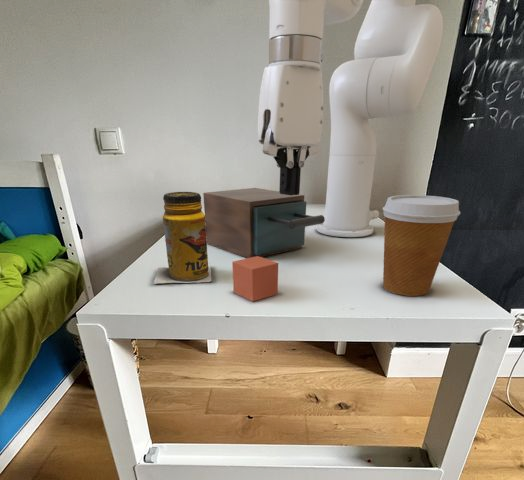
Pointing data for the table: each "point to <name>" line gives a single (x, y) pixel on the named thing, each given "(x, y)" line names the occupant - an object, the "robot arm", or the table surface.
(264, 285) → the block
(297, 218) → the drawer
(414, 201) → the disposable coffee cup
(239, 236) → the cabinet
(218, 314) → the table surface
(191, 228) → the condiment
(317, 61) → the robot arm
